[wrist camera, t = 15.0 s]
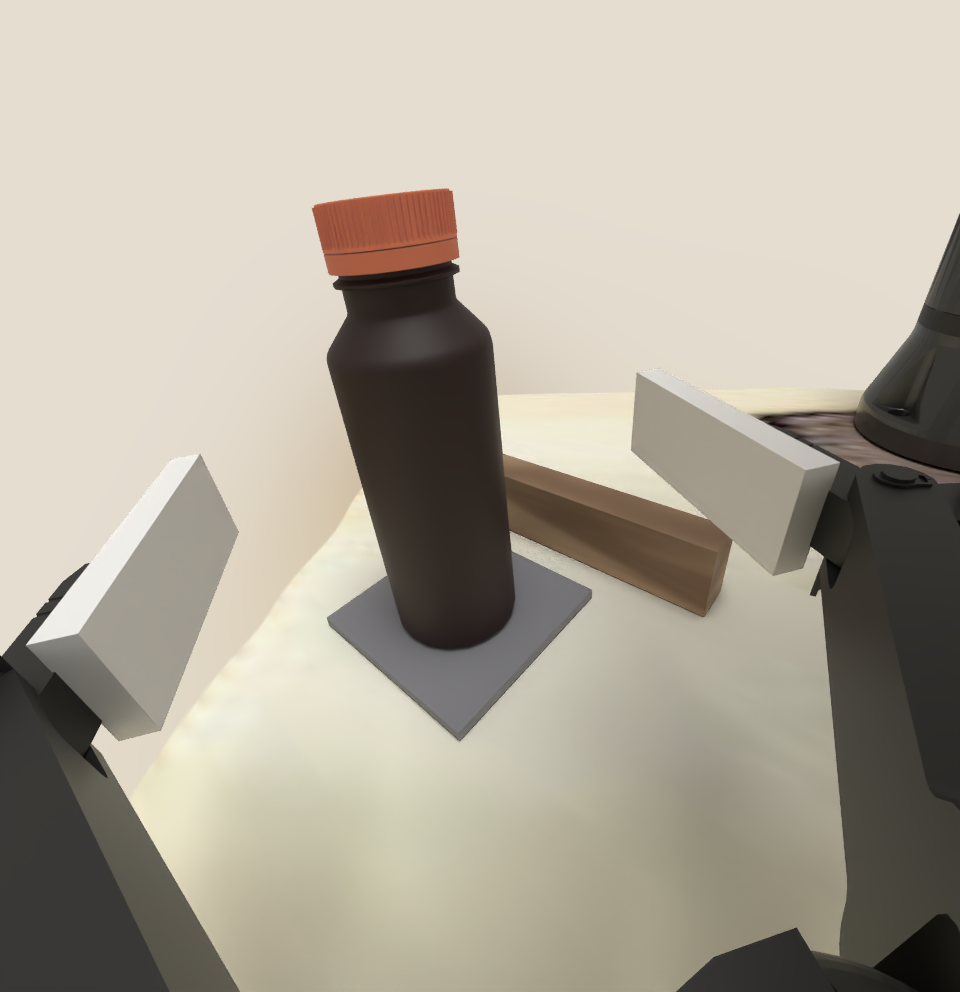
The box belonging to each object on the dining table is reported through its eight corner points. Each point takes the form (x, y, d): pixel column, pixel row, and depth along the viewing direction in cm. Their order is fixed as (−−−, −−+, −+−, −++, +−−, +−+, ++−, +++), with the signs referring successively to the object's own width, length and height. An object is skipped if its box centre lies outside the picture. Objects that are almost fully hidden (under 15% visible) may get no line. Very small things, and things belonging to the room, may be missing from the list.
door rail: (452, 482, 40) (445, 435, 37) (720, 591, 26) (734, 528, 24) (432, 495, 38) (423, 446, 36) (703, 616, 25) (717, 552, 23)
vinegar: (539, 594, 27) (518, 179, 16) (459, 675, 23) (360, 194, 12) (456, 552, 31) (396, 198, 20) (375, 614, 27) (247, 214, 16)
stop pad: (459, 532, 34) (458, 525, 33) (591, 597, 27) (591, 589, 27) (329, 624, 27) (326, 617, 27) (459, 741, 21) (457, 733, 20)
